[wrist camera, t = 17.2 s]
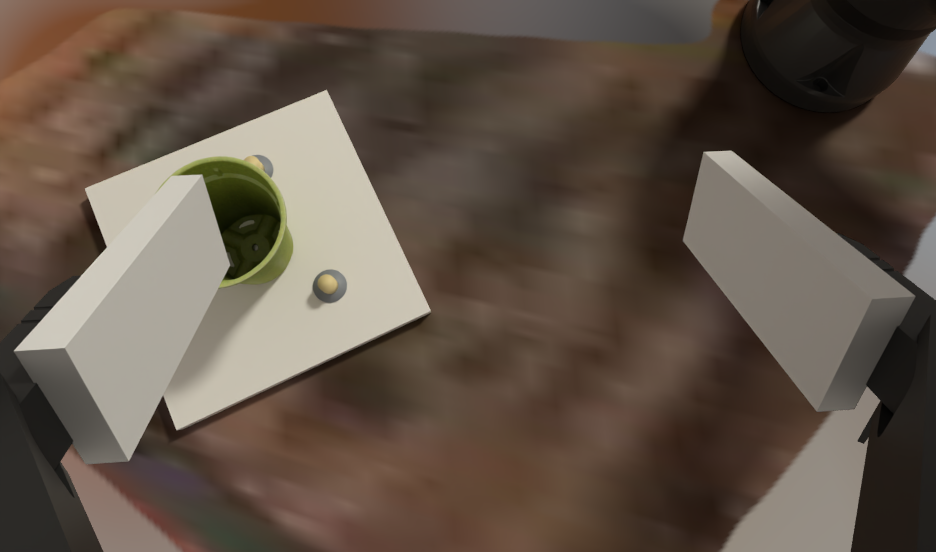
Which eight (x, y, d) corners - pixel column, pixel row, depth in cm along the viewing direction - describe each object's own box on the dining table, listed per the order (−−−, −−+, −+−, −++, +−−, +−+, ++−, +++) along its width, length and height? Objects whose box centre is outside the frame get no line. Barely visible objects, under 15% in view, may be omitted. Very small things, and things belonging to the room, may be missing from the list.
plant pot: (332, 275, 46) (307, 250, 38) (226, 324, 45) (175, 311, 37) (287, 179, 48) (253, 135, 39) (183, 225, 46) (125, 190, 38)
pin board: (329, 96, 51) (323, 81, 48) (431, 312, 47) (430, 308, 44) (93, 193, 48) (73, 182, 45) (183, 429, 45) (166, 431, 42)
